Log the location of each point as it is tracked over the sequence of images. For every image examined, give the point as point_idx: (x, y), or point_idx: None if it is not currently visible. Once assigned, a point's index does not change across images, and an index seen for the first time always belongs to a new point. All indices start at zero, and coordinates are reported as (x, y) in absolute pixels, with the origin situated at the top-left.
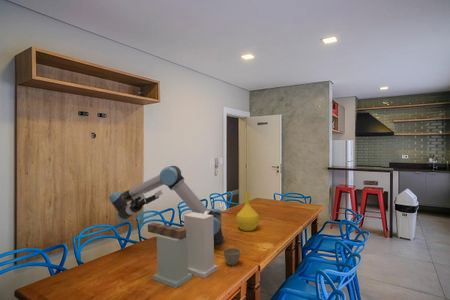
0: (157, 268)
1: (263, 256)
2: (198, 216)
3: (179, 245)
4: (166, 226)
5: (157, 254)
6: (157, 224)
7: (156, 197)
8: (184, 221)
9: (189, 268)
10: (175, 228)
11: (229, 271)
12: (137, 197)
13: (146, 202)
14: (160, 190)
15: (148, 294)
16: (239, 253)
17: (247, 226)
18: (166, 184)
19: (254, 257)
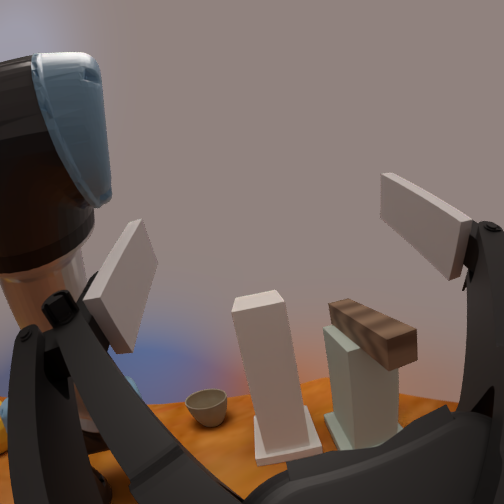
0: (397, 423)
1: (157, 406)
2: (267, 295)
3: None
4: (360, 314)
5: (397, 389)
6: (379, 325)
7: (134, 340)
8: (288, 322)
9: (310, 432)
10: (346, 306)
11: (250, 408)
12: (465, 217)
13: (239, 497)
14: (142, 227)
15: (431, 401)
16: (208, 390)
17: None
18: (108, 186)
19: (166, 412)
